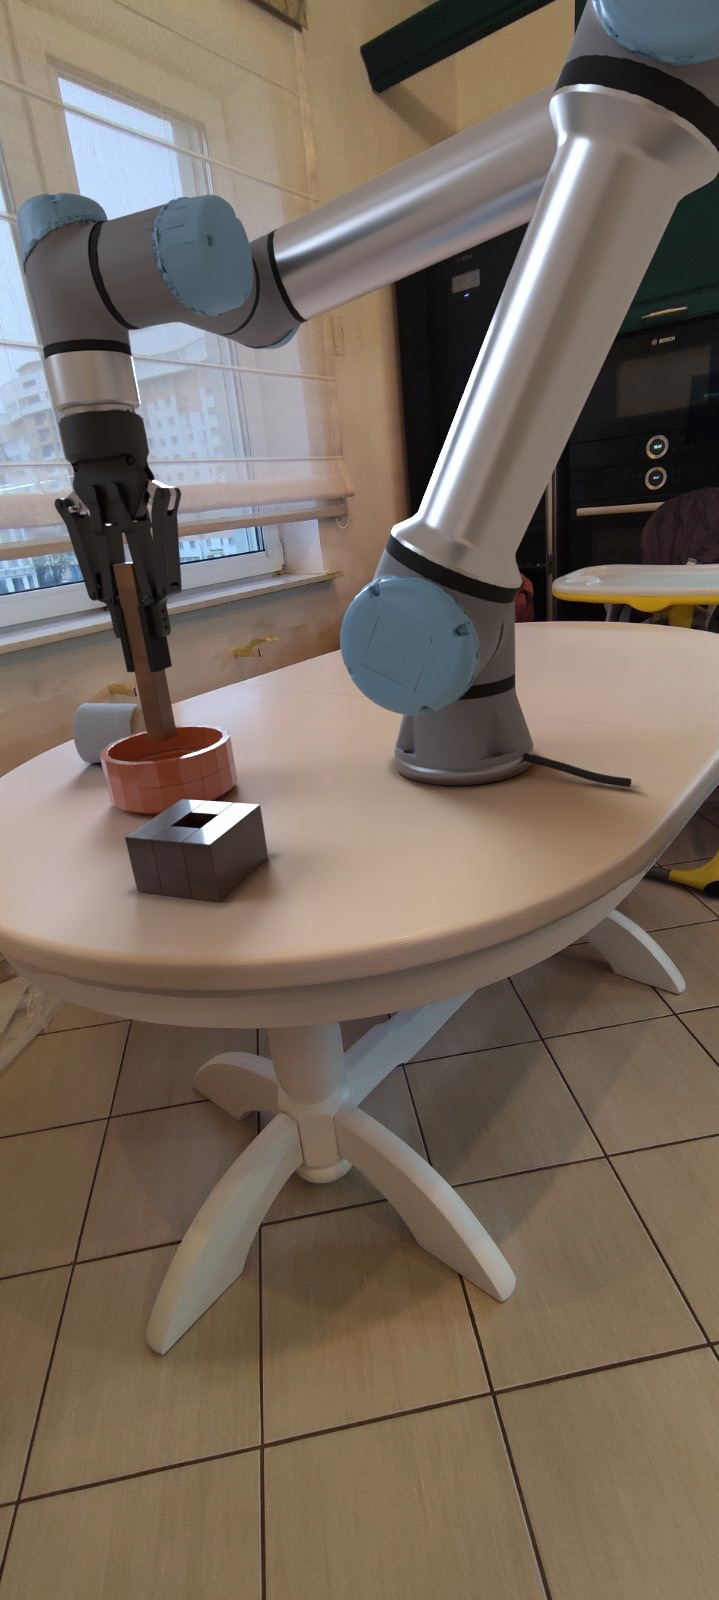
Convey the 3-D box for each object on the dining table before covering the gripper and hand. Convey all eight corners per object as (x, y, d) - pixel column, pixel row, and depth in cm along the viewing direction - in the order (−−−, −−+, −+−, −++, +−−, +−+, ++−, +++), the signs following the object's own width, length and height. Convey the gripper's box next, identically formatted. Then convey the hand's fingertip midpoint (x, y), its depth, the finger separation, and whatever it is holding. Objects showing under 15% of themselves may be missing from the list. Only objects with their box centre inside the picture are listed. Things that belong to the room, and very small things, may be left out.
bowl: (259, 775, 83) (252, 725, 81) (193, 823, 72) (182, 766, 70) (161, 770, 88) (152, 723, 86) (85, 814, 77) (72, 761, 75)
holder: (268, 856, 63) (260, 804, 61) (220, 902, 56) (209, 844, 55) (191, 849, 66) (181, 798, 64) (137, 892, 59) (124, 836, 57)
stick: (177, 735, 78) (144, 560, 71) (165, 741, 76) (130, 563, 70) (160, 734, 79) (126, 562, 72) (148, 740, 77) (112, 564, 70)
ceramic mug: (143, 766, 90) (130, 706, 87) (79, 771, 91) (65, 711, 88) (168, 742, 100) (157, 687, 97) (110, 746, 101) (98, 692, 98)
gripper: (193, 406, 66) (231, 660, 75) (64, 426, 72) (114, 661, 81) (142, 398, 60) (191, 677, 69) (5, 421, 66) (66, 677, 75)
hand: (149, 668), depth 75 cm, fingers closed on stick, 2 cm apart
